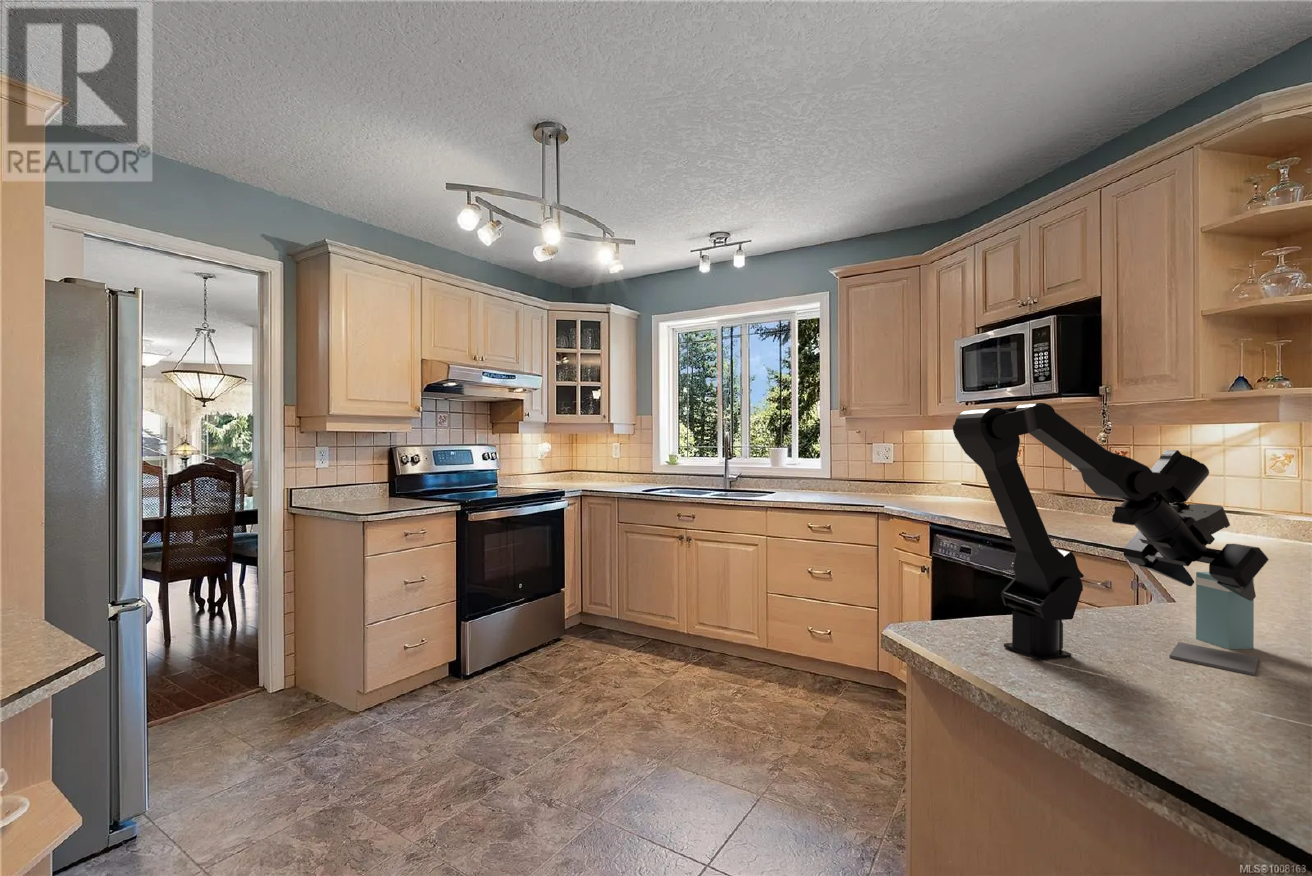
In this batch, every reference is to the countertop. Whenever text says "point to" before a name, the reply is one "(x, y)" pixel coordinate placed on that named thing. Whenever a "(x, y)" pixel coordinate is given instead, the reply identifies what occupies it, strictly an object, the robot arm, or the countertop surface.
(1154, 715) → the countertop surface
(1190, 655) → the mat
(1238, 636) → the carton
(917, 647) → the countertop surface
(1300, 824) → the countertop surface
